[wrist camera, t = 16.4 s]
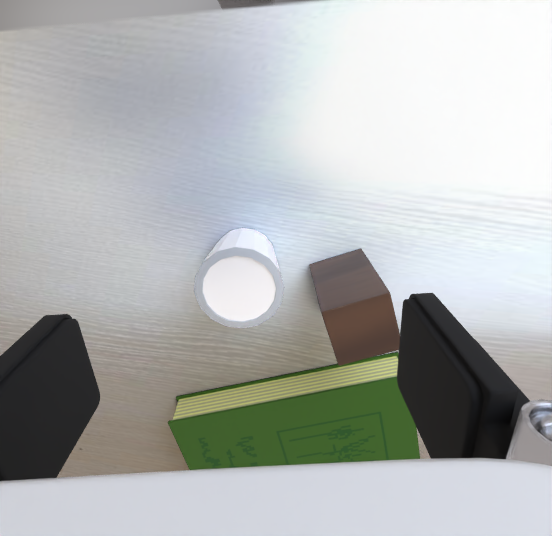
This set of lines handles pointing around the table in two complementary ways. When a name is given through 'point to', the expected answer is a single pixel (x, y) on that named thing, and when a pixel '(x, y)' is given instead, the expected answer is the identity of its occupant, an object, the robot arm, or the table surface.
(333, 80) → the table surface
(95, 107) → the table surface
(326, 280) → the walnut block
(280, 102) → the table surface
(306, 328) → the table surface
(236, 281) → the white cup
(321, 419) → the hardcover book
